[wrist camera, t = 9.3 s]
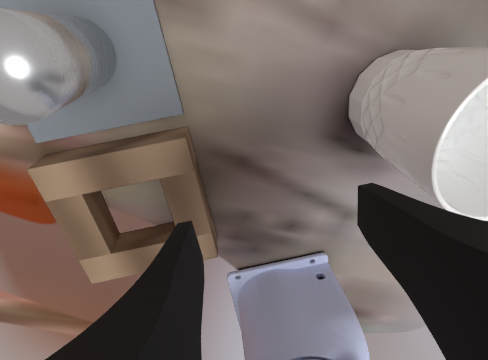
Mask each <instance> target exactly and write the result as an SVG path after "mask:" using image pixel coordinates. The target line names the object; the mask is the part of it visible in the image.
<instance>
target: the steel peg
mask: <svg viewBox="0 0 488 360" xmlns="http://www.w3.org/2000/svg"><path fill="white" fill-rule="evenodd" d="M115 69H116V52H115V49H114V46H113V44H112V42H111V40H110V38H109V37H108V35H107V34H106V33H105V32H104V31H103V30H102V29H101V28H100V27H99V26H98V25H96V24H95V23H93V22H91V21H89V20H87V19H84V18H81V17H76V16H67V15H58V14H48V13H39V12H30V11H21V10H12V9H3V8H0V123H4V124H11V125H22V124H29V123H33V122H36V121H38V120H40V119H42V118H44V117H46V116H48V115H49V114H51V113H53V112H55V111H57V110H59V109H60V108H62V107H64V106H66V105H68V104H70V103H71V102H73V101H75V100H77V99H79V98H81V97H82V96H84V95H86V94H88V93H90V92H92V91H93V90H95V89H97V88H99V87H101V86H102V85H104V84H106V83H107V82H108V81H109V80H110V79H111V77H112V76H113V74H114V72H115Z"/></svg>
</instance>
